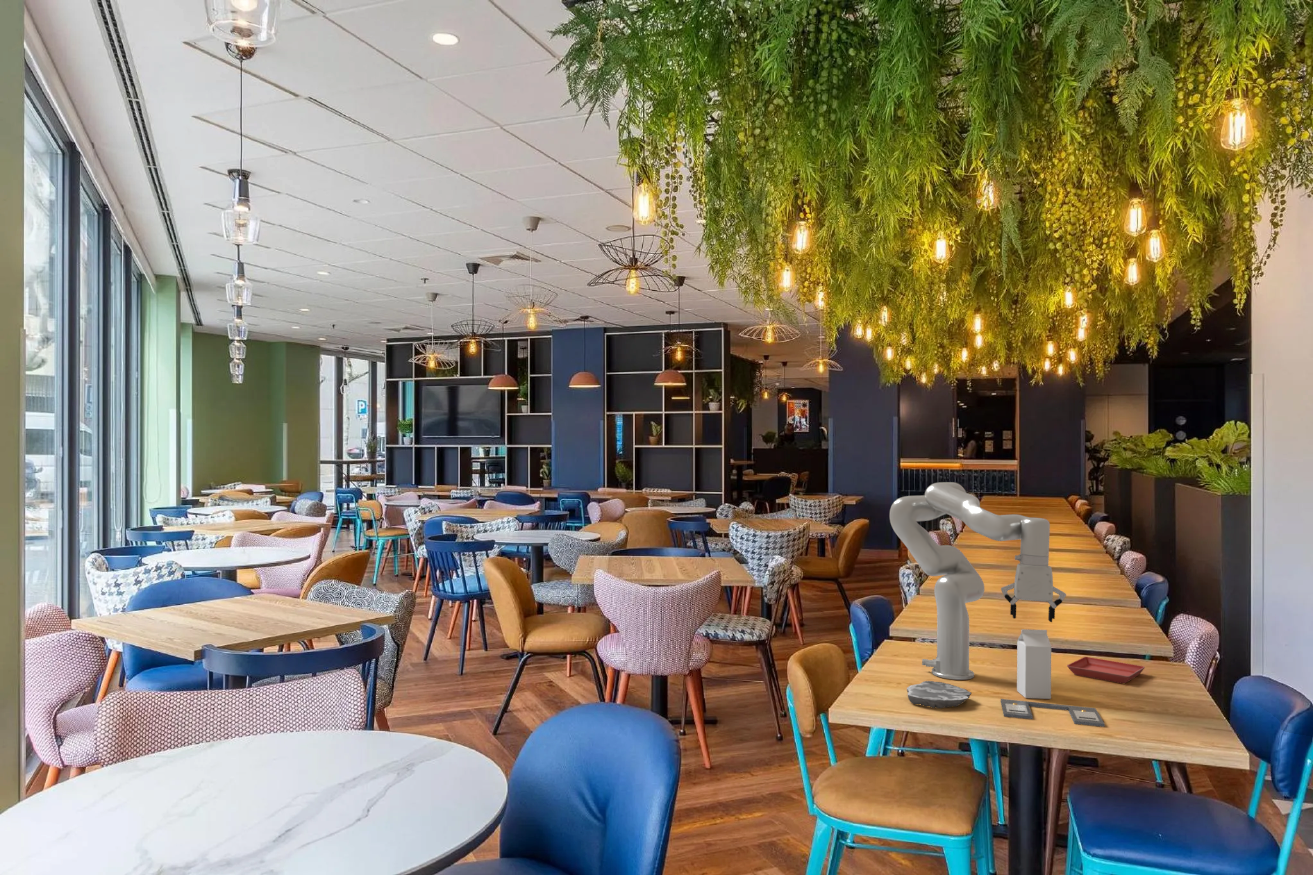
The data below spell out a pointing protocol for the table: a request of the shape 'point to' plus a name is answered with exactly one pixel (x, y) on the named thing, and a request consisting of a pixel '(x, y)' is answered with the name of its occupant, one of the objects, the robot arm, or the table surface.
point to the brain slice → (937, 694)
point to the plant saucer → (1105, 669)
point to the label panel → (1077, 713)
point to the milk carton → (1034, 664)
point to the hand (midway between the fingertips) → (1032, 619)
